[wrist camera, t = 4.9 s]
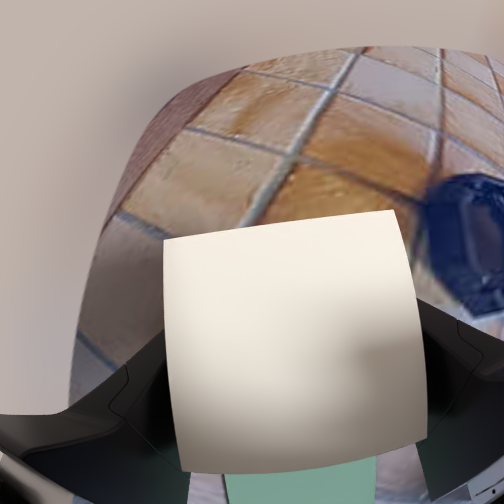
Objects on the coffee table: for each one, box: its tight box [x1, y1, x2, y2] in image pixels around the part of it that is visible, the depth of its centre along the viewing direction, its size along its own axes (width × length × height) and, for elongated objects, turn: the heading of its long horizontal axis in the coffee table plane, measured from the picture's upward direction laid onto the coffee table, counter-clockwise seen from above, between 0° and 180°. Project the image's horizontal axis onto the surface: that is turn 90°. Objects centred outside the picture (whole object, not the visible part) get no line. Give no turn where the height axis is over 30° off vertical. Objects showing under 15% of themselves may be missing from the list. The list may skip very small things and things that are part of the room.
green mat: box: [224, 456, 376, 504], centre depth 11 cm, size 9×9×1 cm
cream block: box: [163, 210, 427, 474], centre depth 10 cm, size 6×6×10 cm
